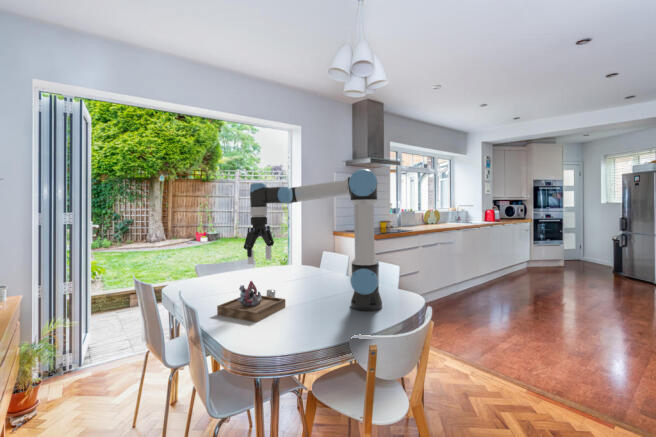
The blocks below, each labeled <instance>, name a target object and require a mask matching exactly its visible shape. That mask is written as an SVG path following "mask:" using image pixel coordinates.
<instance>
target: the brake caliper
mask: <svg viewBox="0 0 656 437" xmlns="http://www.w3.org/2000/svg"><path fill="white" fill-rule="evenodd" d="M239 286H240V287H239V291H240V293H239V295H240V297H241V299H237V298H236V299H237V301H239V302H240V303H241V304H242V305H243V306H257V305H258V304H260V303H261V301H262V297H261V296H262V295H261V292H260V291H258V289H257V287H256V285H255V284H254V282H253V280H250V281H249V284H248V285H247V288H245V285H244V284H243V285H241V284H240V285H239Z"/></svg>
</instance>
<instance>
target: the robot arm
mask: <svg viewBox="0 0 656 437" xmlns="http://www.w3.org/2000/svg"><path fill="white" fill-rule="evenodd" d="M342 196H343V197H344V196H348V197H350V202H351V203H352V204H353V213H354V214H353V216H354V217H353V218H354V219H353V220H354V221H353V222H354V226H353V227H354V228H353V229H354V259H353V260H352V261H351V276H350V280H349V281H350V285H351V288H352V289H353V290H354V292H353V294H352V297H351V301H350V307H352V309H354V310H358V311H364V312H372V311H379V310H381V309H382V308H383V300H382V298H381V295H380V294H381V293H380V292H379V291H380V290H379V288H380V287H379V281H380V280H379V278H380V276H379V272H380V271H379V270H380V264H379V263H380V262H379V260H378V259H375V209H374V208H375V206H374V205H375V203H376V202H377V201H378V178H377V176H376V174H375V173H374V172H373V171H372V170H370V169H367V168H361V169H360V168H359V169H358V170H356V171H354V172H352V174H351V175H350V176H347V177H346V178H345V179H341V180H335V181H329V182H319V183H314V184H308V185H300V186H293V187H290V186H272V187H268V186H267V184H266V183H265V182H253V183H250V186H249V202H250V205H249V206H250V225H251V226H252V227H247V232H246V233H247V234H246V238H245V241H244V244H243V249H245V250H246V254H247V255H246V256H247V264H248V265H254V264H255V260H254V258H255V254H254V249H253V248H254V245H255V244H256V242H257V239H258V238H259V237H261V238H262V240H263V242H264V243H265V260H272V246H274V243H275V241H274V238H273V235H272V232H271V226H270V225H267V224H268V207H267V204H287V205H288V204H294V203H298V202H306V201H313V200H315V201H316V200H322V199H329V198H335V197H336V198H337V197H342Z"/></svg>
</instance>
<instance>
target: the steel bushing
mask: <svg viewBox="0 0 656 437" xmlns="http://www.w3.org/2000/svg"><path fill="white" fill-rule="evenodd" d="M266 296H268V297H275V298H276V290H275V289H267V290H266Z"/></svg>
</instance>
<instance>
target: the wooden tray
mask: <svg viewBox="0 0 656 437" xmlns="http://www.w3.org/2000/svg"><path fill="white" fill-rule="evenodd" d="M261 297H262V301H261V303H260V304H258V305H257V306H243V305H242V304H241V303H240V302H239V301H237V299H241V297H237V298H234V299H231V300H230V301H227V302H224V303H222V304H219V305H216V311H217V312H216V313H217V314H216V315H218V316H220V317H221V316H222V317H228V318H232V319H239V320H244V321H249V322H254V323H258V322H260V321H262V320H264V319H265V318H267V317H269V316H271V315H273V314H275V313H277V312H280V310H283V309H285V308H286V298H281V297H276V296H275V297H268V296H267V295H261Z"/></svg>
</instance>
